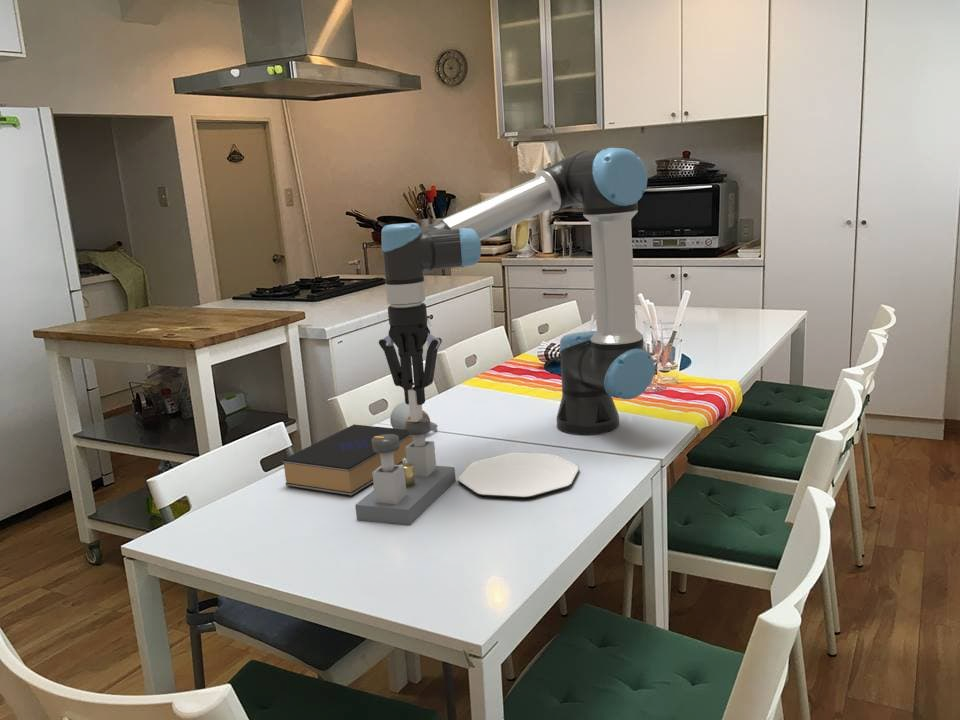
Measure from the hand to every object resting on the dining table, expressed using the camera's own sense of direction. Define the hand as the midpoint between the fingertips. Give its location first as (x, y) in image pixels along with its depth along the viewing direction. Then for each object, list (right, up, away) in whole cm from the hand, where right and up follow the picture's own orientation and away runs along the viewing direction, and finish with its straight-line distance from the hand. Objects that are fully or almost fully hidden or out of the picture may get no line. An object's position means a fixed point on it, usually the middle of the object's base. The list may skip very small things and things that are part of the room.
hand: (416, 419), depth 163 cm
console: (-1, -15, -3) cm, 16 cm away
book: (-15, -13, +15) cm, 25 cm away
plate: (+21, -13, +4) cm, 25 cm away
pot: (-2, -13, -4) cm, 13 cm away
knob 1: (-4, -10, -11) cm, 16 cm away
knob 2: (+1, -8, +2) cm, 9 cm away
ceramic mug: (-3, -7, +38) cm, 39 cm away
